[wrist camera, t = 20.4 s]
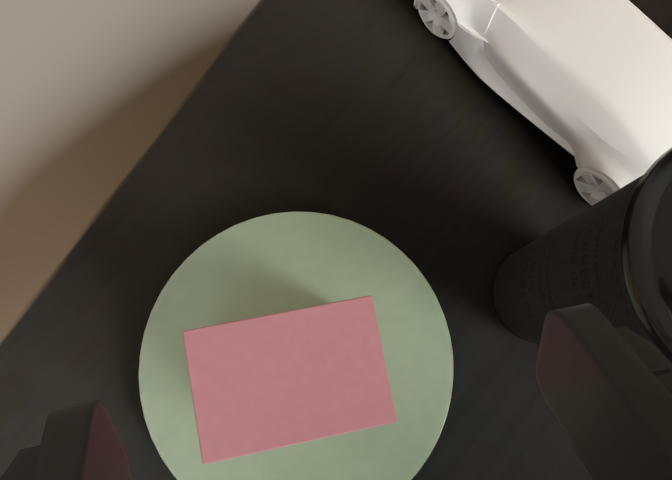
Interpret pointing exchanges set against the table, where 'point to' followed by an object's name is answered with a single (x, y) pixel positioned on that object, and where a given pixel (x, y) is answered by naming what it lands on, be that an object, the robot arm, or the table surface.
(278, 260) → the plate
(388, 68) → the table surface
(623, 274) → the drinking cup
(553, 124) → the toy car
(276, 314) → the cake slice
